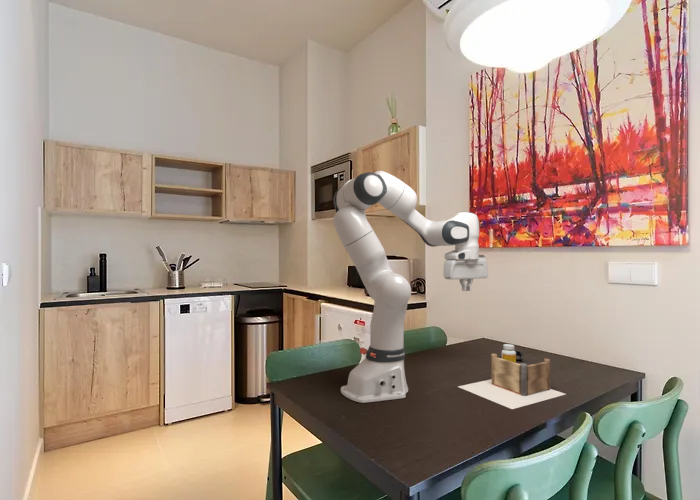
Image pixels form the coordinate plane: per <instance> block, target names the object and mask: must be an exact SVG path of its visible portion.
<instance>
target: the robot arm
mask: <svg viewBox="0 0 700 500" xmlns="http://www.w3.org/2000/svg"><path fill="white" fill-rule="evenodd" d="M376 204H380V206H382V207H383V208H385V209H386V210H388V211H389V212H390V213H392V214H393V215H395V216H397V217H398V218H399V219H400V221H401V220H402V222H404V223H405V224H406V225H407V226H409V227H410V228H411V229H412V230H414V232H416V233H417V234H418V235H419V236H420V238H421V240H422V241H423V243H425V244H426V245H427V246H428V247H432V248H433V247H439V246H440V247H445V246H448V247H449V246H455V247H454V249H453V250H451V251H449V252H446V253H445V254H444V259H445V261H444V262H443V277H444V279H445V280H451V281H452V280H459V284H460V286H461V291H462V292H469V291H471V289H472V288H471V286H472V285H473V283H474V279H475V280H477V279H478V280H479V279H488V277H489V268H488V262H487V258H486V256H485V255H484V254H480V245H479V237H480V222H479V217H478V215H477V214H476V213H473V212H470V211H459V212H457V214H455V215H454V216H453V217H451V218H447V219H446V220H431V219H428V218H426V217H425V216H424V215H422V214H421V213H420V212H419V211H418V210H417V209H416V206H417V204H418V195H417V193H416V191H414V189H413V188H412V187H410V186H409V184H406V183H405V182H404V181H402V180H401V179H399V178H398V177H396V176H395V175H393V174H391V173H389V172H386V171H384V170H377V171H375V172H369V171H368V172H367V171H366V172H363V173H360V174H359V175H357V176H356V177H353V178H352V179H350V180H348V181H346V182H345V183H344V184H343V185H341V186H339V188H338V189H337V190H336V191H335V193H334V196H333V206H334V209H335V213H334V215H333V218H332V220H333V221H332V223H333V224H334V227H335V231H336V233H337V235H338V238H339V240H340V241H341V244H342V246H343V248H344V249H345V251H346V252H347V255H348V256H349V258H350V259H351V261H352V263H353V265H354V266H355V269H356V270H357V273H358V275H359V277H360V280H361V281H362V283H363V286H364V287H365V290H366V291H367V293H368V295H369V297H370V298H371V299H372V300H373V301H374V305H373V311H372V317H371V321H370V330H369V331H370V333H369V334H370V335H369V336H370V337H369V338H370V340H369V341H370V342H369V344H370V345H369V346H368V348H365V347H360V349H359V353H360V354H361V355H364V356H365V358H364V359H363V360H362V361H361V362H360V363H359V364H357V365H356V366H355V367H354V368H353V369H352V370H351V371H349V374H348V379H347V384H346V385H342V386H341V387H340V393H341V394H342V395H343V396H344V397H345V398H347V399H349V400H351V401H354V402H358V403H362V404H364V403H373V402H382V401H390V400H398V399H404V398H406V394H407V393H408V392H409V386H408V384H407V379H406V372H405V358H406V348H405V346H404V344H405V343H404V341H405V339H404V337H405V334H404V333H405V320H406V314H407V310H408V303H409V300H410V299H411V296H412V288H411V284H410V282H409V281H408V280H407V279H406V277H404V275H401V274H399V273H396V272H394V271H393V270H392V267H391V265H390V263H389V261H388V258H387V254H386V251H385V248H384V246H383V244H382V243H381V241H380V239H379V238H378V236H377V234H376V231H374V229H373V227H372V226H371V224H370V222H369V221H368V219H367V215H366V210H367V209H369V208H371V207H372V206H375V205H376ZM466 282H467V283H466Z"/></svg>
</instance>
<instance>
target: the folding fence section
mask: <svg viewBox="0 0 700 500" xmlns="http://www.w3.org/2000/svg"><path fill="white" fill-rule="evenodd" d="M490 372H491V383H492V384H495V385H498V386H501V387H504V388H506V389H509V390H512V391H514V392H517V393H521V363H518V362H516V363H514V362H511V361H508V360H504V359H501V358H500V357H498V353H491V371H490Z"/></svg>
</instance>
